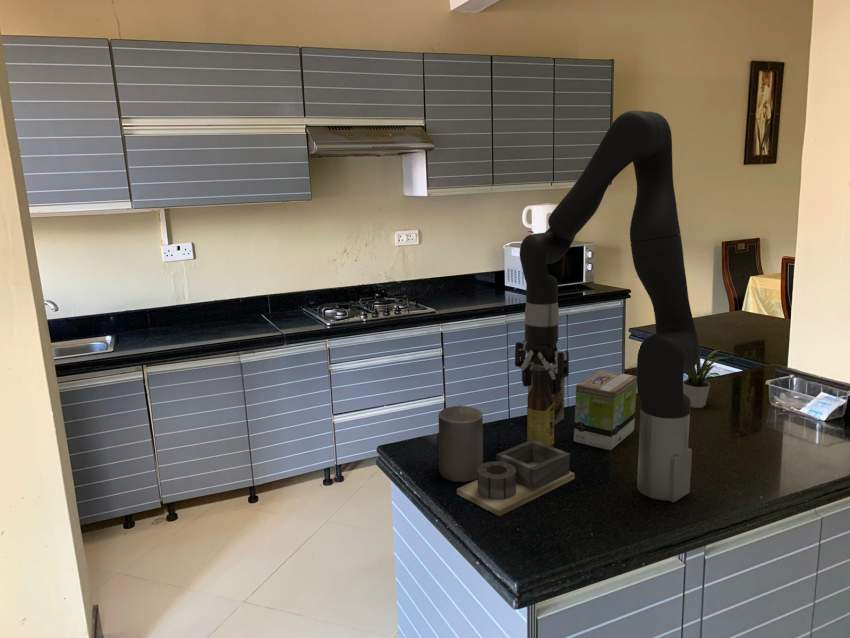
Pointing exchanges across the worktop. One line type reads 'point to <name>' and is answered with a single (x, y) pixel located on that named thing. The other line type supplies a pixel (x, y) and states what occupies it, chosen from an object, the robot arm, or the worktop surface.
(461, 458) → the pillar candle
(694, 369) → the house plant
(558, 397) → the coffee box
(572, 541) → the worktop surface
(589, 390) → the tea box
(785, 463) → the worktop surface
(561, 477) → the socket board
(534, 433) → the sauce bottle
